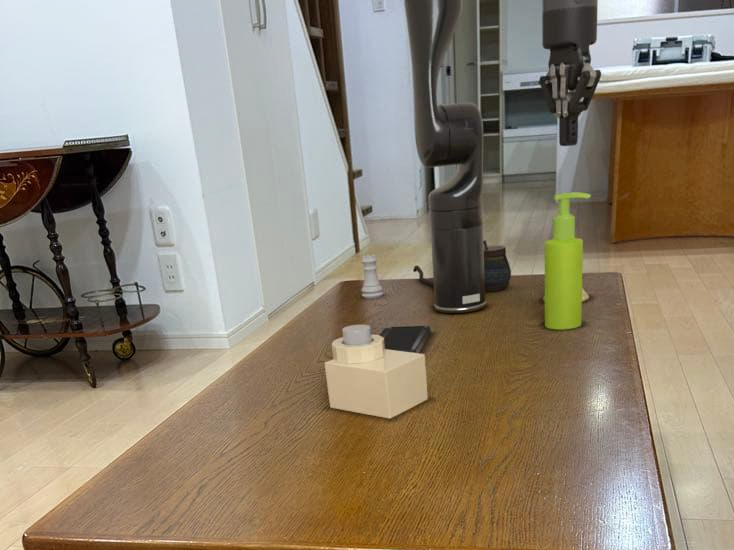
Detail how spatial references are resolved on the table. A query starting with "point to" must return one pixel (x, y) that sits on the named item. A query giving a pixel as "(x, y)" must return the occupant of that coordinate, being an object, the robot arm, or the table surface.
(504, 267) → the mate gourd
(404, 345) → the phone
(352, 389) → the push button station
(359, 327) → the grey push button
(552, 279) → the soap dispenser
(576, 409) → the table surface
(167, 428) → the table surface
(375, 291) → the rook chess piece
